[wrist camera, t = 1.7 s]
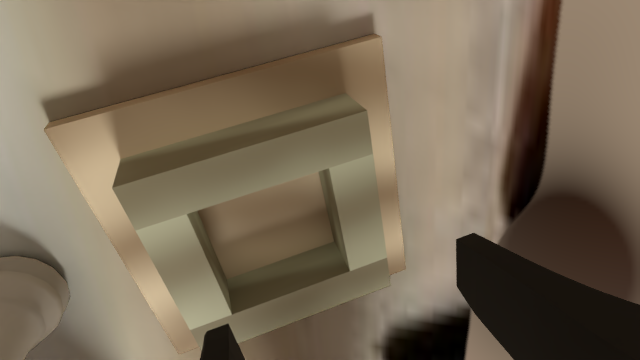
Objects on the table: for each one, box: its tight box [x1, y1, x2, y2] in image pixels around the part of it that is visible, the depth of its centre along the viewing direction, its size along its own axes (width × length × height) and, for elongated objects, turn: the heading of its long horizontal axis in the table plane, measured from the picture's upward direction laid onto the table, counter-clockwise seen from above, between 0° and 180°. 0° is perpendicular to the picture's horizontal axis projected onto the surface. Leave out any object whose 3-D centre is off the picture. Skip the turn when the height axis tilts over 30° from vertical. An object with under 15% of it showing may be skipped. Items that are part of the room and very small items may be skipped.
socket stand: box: [44, 34, 406, 354], centre depth 19 cm, size 14×14×3 cm
